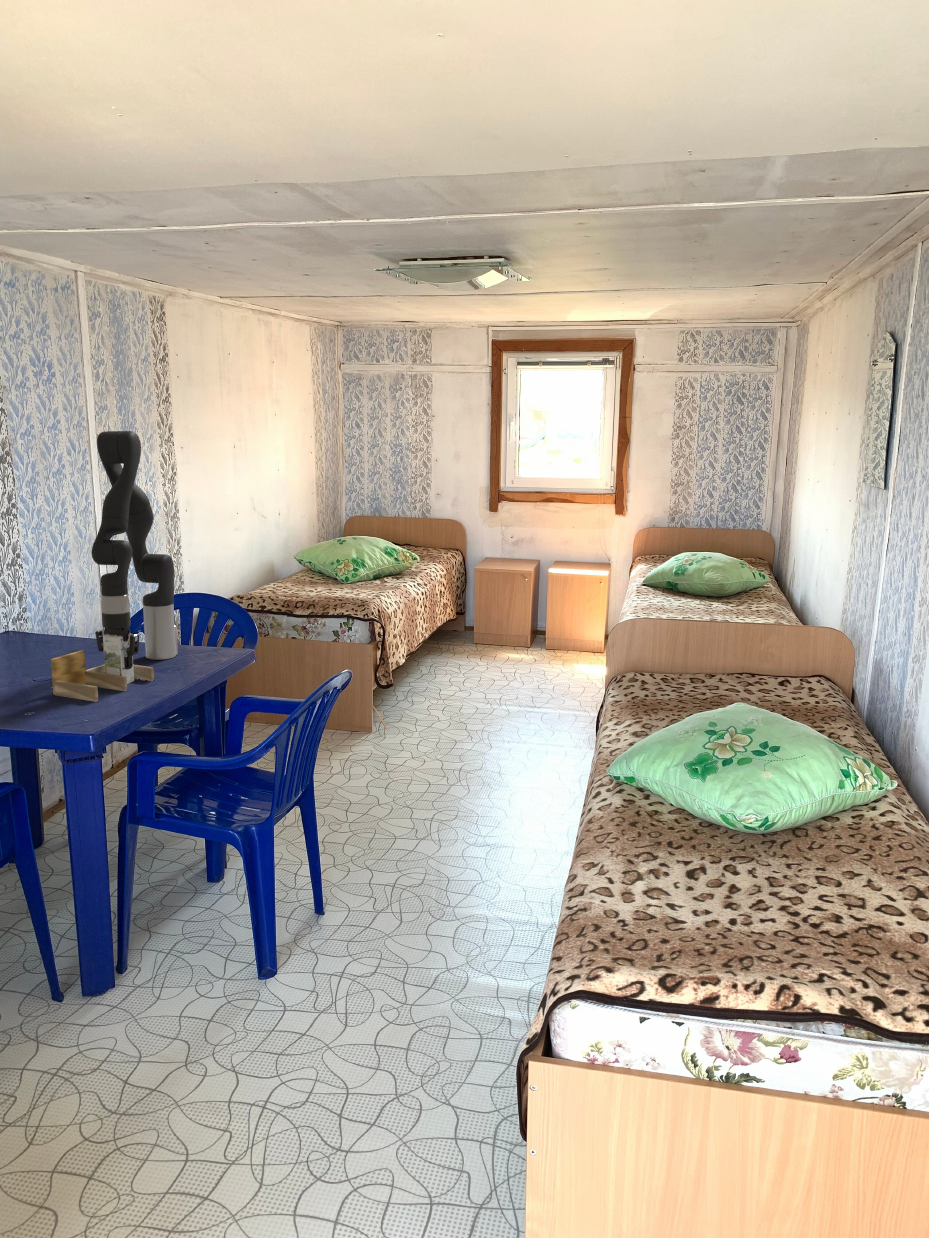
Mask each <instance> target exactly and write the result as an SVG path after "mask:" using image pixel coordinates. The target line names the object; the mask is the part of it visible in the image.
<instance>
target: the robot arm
mask: <svg viewBox="0 0 929 1238" xmlns="http://www.w3.org/2000/svg"><path fill="white" fill-rule="evenodd" d="M96 448H97V452H98V453H97V454H98V455H99V459H100V461H101V464H102V466H103V469H104V470H105V473H106V475H107V478H108V480H109V483H110V485H111V488H110V489H109V491H108V492H107V493H106V496H105V497H104V501H103V503H102V510H101V523H100V526H99V529H98V532H97V535H96V537H95V539H94V541H93V544H92V547H91V551H90V552H91V557H92V560H93V562H94V563H95V564H97V565H100V566H117V569H116V570H115V571H113V572H107V573H104V574H102V575H101V576H100V592H101V599H100V607H101V610H100V611H101V625H102V627H103V629H99V630H96V631H94V632H95V633H94V634H95V639H96V644H97V645H96V646H97V649H98V652H99V653H100V652H102V653H103V654H104V646H103V636H104V635H106V634H107V635H114V636H117V637H118V636H122V637H123V641H124V642H127V641H128V639H129V641H128V645H126V646H124V645H122V649H123V652H124V656H125V657H124V666H125V669H127V670H128V669H131V668H132V666H133V665H134V659H133V660H132V656H134V655H137V654H139V647H140V646H139V645H140V634H139V633H135V634H134V633H131V630H130V627H131V624H132V623H131V608H130V607H131V606H130V599H129V590H128V576H129V570H130V565H131V562H133V569H134V571H135V576H136V577H137V579H138V580H139V581H140V582H142V583H145V584H146V583H147V584H158V585H157V589H155V591H152V592H150V593H147V594H144V595H143V597H142V608H143V609H142V610H143V612H142V613H143V628H144V629H143V630H144V644H145V645H144V646H145V647H144V648H145V658H146V659H149V660H169V659H172V658H174V657H175V658H176V655H178V654H179V651H178V650H179V649H178V632H177V625H175V610H174V608H175V607H174V604H175V603H174V597H175V563H174V560H173V558H172V556H171V555H169V554H165V553H164V554H163V553H162V554H161V553H149V552H148V550H147V544H146V542H147V538H148V536H149V533H150V532H151V529H152V527H153V525H154V520H155V519H154V517H155V516H154V511H153V508H152V505H151V502H150V499H149V497H148V495H147V494H146V493H145V492H144V490H143V489H142V488H141V487H140V486H138V484H136V483H135V482H136V478H137V474H138V470H139V465H140V460H141V455H142V443H141V440H140V437H139V435H138V434H137V433H136V432H135V431H132V430H110V431H109V430H107V431H101V432H99V434H98V435H97V436H96ZM122 464H123V465H122ZM125 533H126V537H127V540H124V539H112V538H113V537H115V536H118V535H122V534H125ZM126 648H128V652H127V650H126Z"/></svg>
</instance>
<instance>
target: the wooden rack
mask: <svg viewBox="0 0 929 1238" xmlns="http://www.w3.org/2000/svg"><path fill="white" fill-rule="evenodd" d="M85 653H86V651H85V650H78V651H75V652H71V653H68V654H67V653H66V654H64V655H59V656H56V657H53V658H50V667H51V669H50V670H51V680H52V681H51V682H52V694H53V695H54V696H56V697H57V696H58V697H63V698H71V699H76V700H82V701H89V702H95V703H96V702H99V691H98V688H103V689H107V690H115V691H121V692H126V691H128V684H127V676H120V675H113V674H106V673H105V663H104V664H101V665H98V666H95V667H92V668H89V669H87V667H86V654H85ZM133 670H134V680H138V679H140V681H145V680H148V681H147V682H154V681H155V677H154V676H155V669H154V667H153V666H148V665H147V666H145V665H139V664H133ZM153 680H154V681H153Z"/></svg>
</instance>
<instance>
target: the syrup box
mask: <svg viewBox="0 0 929 1238" xmlns="http://www.w3.org/2000/svg"><path fill="white" fill-rule="evenodd" d="M128 641H129V639H128ZM128 641H127V642H124V641H123V637H122V636H118V637H117V636H114V635H107V634H106V635H104V636H103V644H102V647H103V646H104V653H103V656H104V657H103V659H104V664H105V673H106V674H113V675H120V676H127V685H129V684H131V683H133V682H135V679H134V670H133V666H132V668H131V669H128V670H127V669H125V666H124V657H125V656H124V652H123V649H122V645H124V646H126V645H128ZM126 650H127V652H128V648H126ZM133 656H134V655H133ZM133 656H132V660H133V661H134V657H133Z"/></svg>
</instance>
